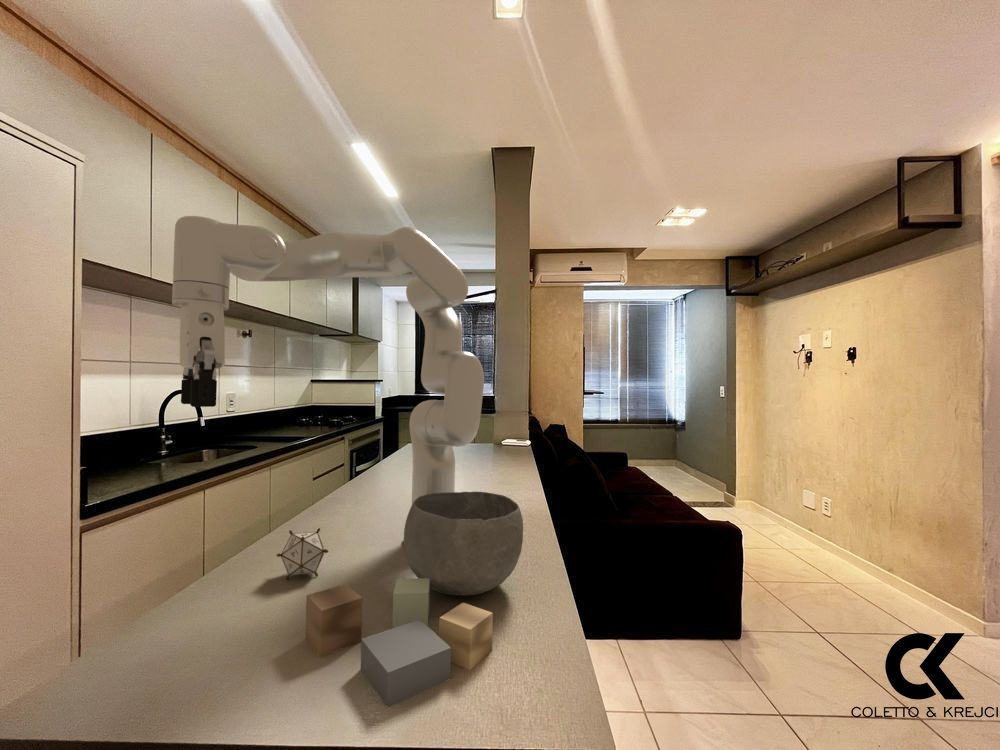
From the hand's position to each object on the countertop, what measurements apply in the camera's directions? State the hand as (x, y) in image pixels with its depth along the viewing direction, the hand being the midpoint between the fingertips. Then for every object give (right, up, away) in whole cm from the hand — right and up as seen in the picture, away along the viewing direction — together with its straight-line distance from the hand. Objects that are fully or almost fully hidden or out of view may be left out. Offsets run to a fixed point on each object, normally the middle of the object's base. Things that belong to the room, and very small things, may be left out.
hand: (197, 405), depth 71 cm
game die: (+12, -32, +11) cm, 36 cm away
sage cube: (+35, -32, -4) cm, 47 cm away
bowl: (+42, -32, +7) cm, 53 cm away
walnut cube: (+25, -32, -10) cm, 42 cm away
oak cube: (+43, -32, -12) cm, 55 cm away
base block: (+36, -32, -17) cm, 51 cm away
